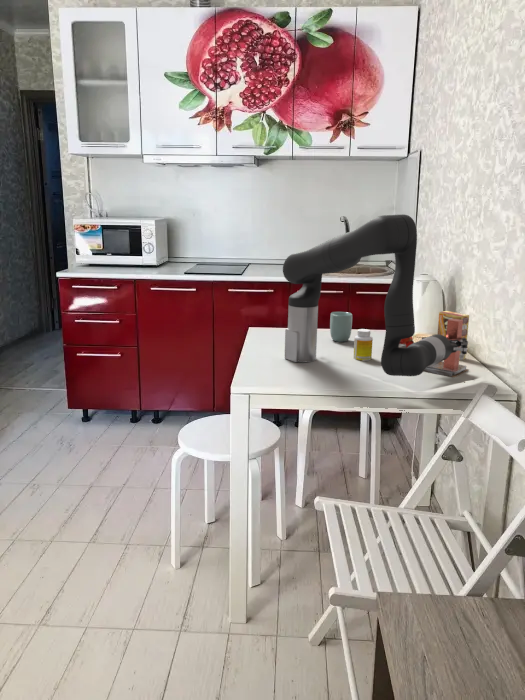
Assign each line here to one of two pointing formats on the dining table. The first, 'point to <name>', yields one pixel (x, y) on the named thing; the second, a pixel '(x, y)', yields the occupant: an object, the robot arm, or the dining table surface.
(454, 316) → the candy box
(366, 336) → the supplement bottle
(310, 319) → the robot arm
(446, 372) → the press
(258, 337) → the dining table surface
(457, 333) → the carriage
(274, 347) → the dining table surface
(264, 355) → the dining table surface
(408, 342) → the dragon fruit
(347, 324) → the cup
